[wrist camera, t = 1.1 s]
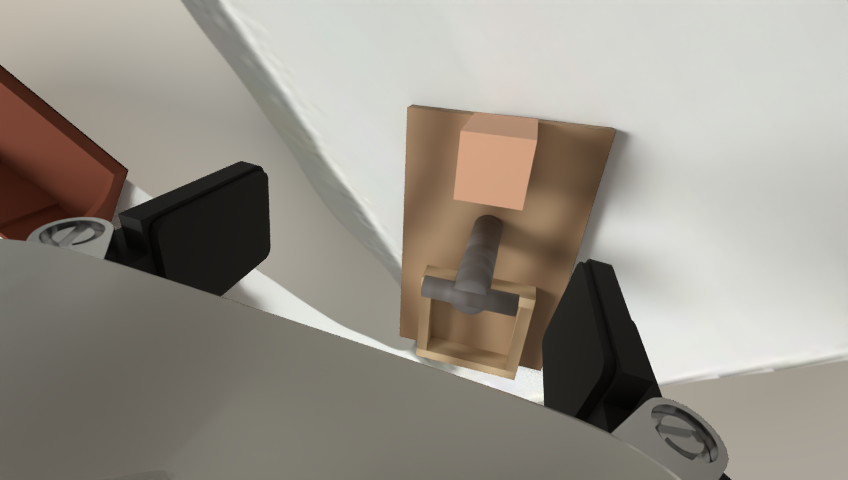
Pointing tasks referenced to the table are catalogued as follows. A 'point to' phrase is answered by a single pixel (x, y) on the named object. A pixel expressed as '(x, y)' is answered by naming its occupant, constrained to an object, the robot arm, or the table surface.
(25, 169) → the red dustpan
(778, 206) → the table surface
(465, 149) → the salmon orange block
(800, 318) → the table surface
